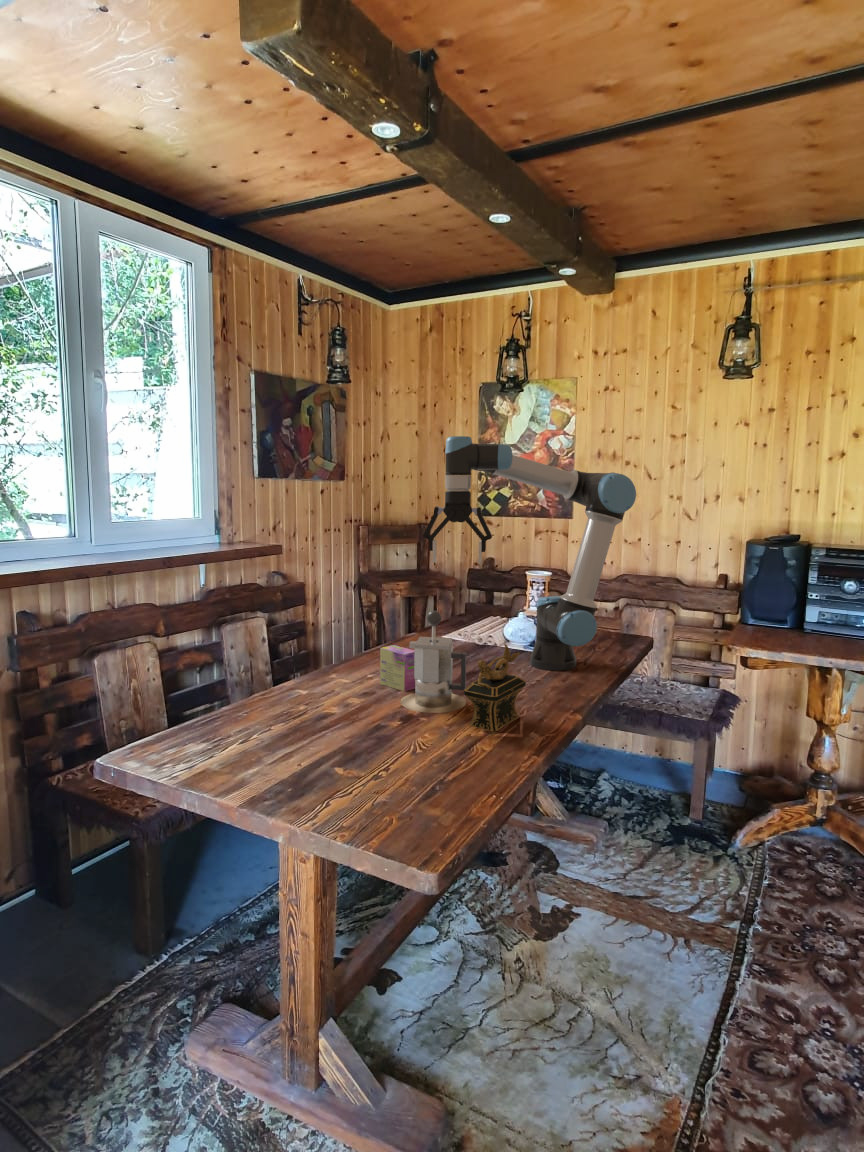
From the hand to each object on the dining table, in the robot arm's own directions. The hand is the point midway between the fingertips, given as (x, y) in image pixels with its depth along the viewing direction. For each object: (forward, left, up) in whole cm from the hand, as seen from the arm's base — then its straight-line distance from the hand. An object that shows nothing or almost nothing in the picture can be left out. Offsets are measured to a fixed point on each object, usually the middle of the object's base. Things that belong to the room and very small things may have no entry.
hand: (457, 562), depth 207 cm
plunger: (+4, +21, -27) cm, 35 cm away
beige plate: (+4, +21, -37) cm, 42 cm away
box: (+16, +8, -37) cm, 41 cm away
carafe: (+3, +21, -36) cm, 42 cm away
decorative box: (-14, +32, -37) cm, 51 cm away
